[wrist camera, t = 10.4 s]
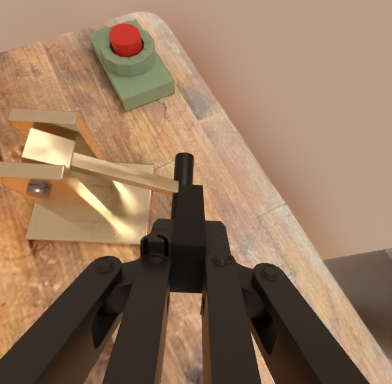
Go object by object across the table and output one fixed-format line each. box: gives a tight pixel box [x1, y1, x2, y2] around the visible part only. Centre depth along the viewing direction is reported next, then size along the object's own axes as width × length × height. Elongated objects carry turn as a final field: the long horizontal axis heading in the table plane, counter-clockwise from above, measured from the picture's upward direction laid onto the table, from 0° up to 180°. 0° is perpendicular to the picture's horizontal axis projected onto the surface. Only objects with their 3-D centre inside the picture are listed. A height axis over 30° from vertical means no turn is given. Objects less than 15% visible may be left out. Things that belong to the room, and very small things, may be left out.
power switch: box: [0, 108, 155, 246], centre depth 22 cm, size 12×9×13 cm
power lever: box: [21, 128, 194, 219], centre depth 20 cm, size 13×7×2 cm, turn 88°
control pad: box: [88, 20, 175, 111], centre depth 33 cm, size 12×7×4 cm, turn 28°
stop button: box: [109, 24, 142, 57], centre depth 31 cm, size 4×4×2 cm
